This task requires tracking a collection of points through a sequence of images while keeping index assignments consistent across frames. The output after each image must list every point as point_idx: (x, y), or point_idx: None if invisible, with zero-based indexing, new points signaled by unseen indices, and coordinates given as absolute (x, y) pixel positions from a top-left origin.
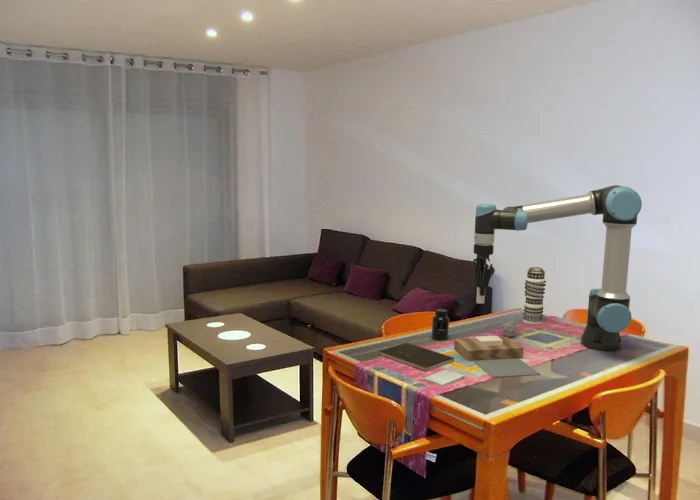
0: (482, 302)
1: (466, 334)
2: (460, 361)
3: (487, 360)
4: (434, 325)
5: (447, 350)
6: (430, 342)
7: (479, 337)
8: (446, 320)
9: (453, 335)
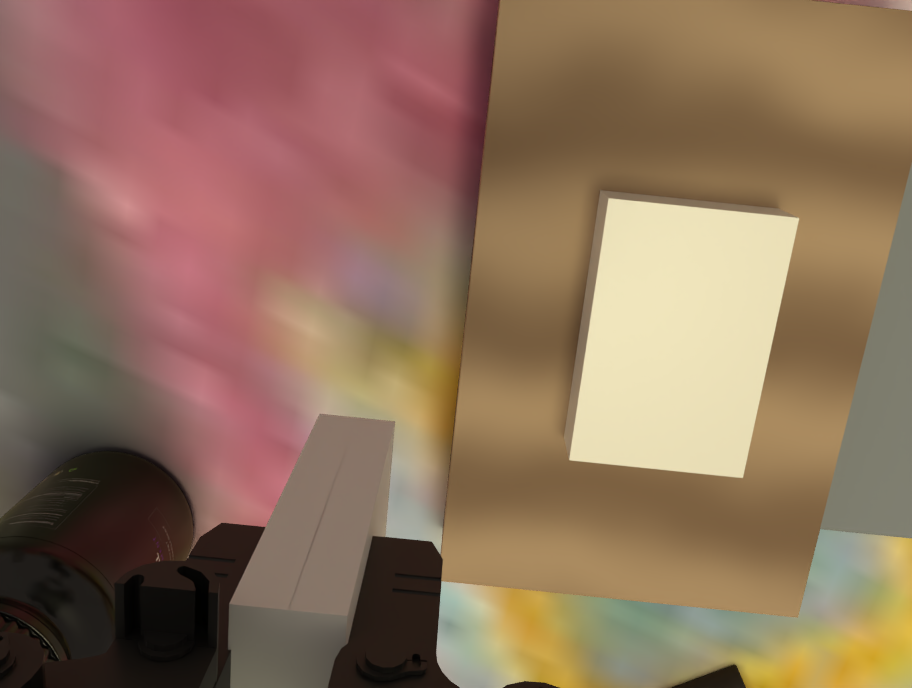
0: (389, 464)
1: (24, 208)
2: (749, 615)
3: None
4: None
5: (463, 595)
6: None
7: (612, 423)
8: (109, 609)
9: (44, 355)
